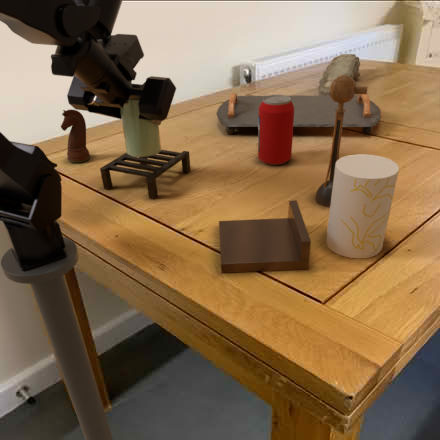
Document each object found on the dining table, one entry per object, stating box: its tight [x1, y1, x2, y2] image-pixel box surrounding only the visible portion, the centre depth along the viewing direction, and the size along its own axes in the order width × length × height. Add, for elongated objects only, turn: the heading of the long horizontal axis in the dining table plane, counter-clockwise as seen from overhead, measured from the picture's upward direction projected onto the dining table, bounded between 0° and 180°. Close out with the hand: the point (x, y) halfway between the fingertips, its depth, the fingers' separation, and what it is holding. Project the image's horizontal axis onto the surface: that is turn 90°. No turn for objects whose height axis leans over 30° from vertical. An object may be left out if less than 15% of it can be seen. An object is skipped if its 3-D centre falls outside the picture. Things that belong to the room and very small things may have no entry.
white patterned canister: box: [325, 153, 400, 259], centre depth 66 cm, size 8×8×12 cm
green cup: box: [120, 100, 162, 157], centre depth 83 cm, size 6×6×10 cm
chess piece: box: [60, 108, 91, 164], centre depth 96 cm, size 5×5×10 cm
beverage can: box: [257, 94, 294, 166], centre depth 91 cm, size 7×7×12 cm
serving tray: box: [216, 92, 382, 136], centre depth 112 cm, size 39×23×6 cm, turn 84°
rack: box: [99, 149, 191, 200], centre depth 88 cm, size 13×11×4 cm
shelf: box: [218, 199, 312, 274], centre depth 68 cm, size 12×12×4 cm
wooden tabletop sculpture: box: [314, 75, 369, 208], centre depth 74 cm, size 6×5×20 cm
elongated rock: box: [317, 53, 361, 95], centre depth 135 cm, size 35×5×10 cm
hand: (144, 120), depth 84 cm, fingers closed on green cup, 6 cm apart
